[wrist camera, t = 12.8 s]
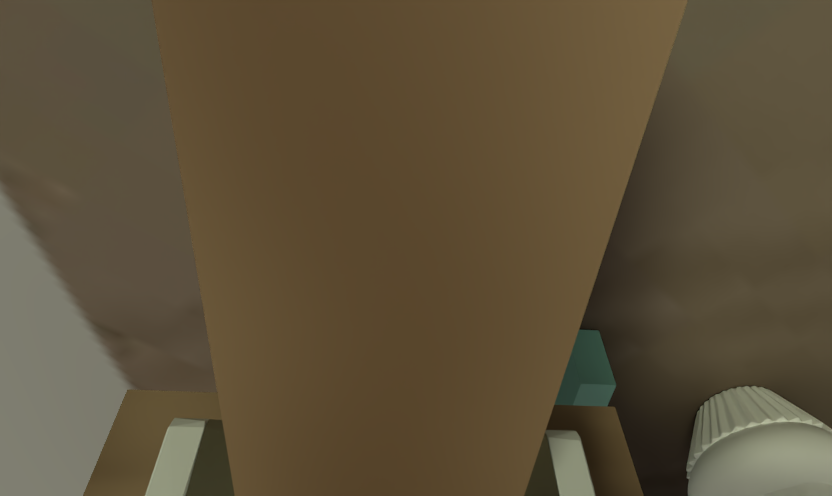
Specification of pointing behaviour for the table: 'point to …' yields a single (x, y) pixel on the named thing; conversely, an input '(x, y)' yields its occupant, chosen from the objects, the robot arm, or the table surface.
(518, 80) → the wooden post on base
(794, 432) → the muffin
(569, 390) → the frame
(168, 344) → the table surface
